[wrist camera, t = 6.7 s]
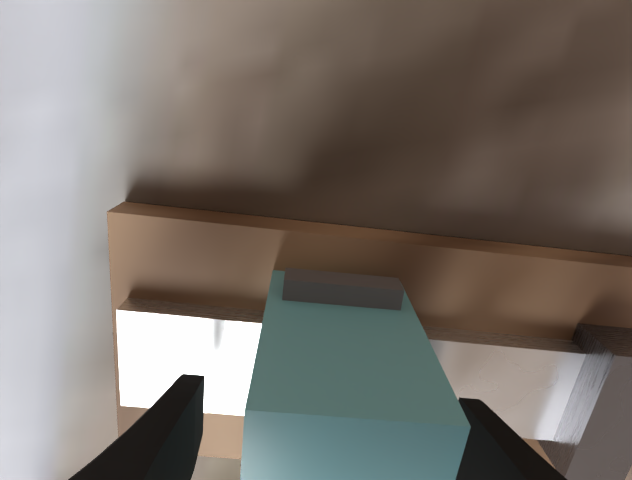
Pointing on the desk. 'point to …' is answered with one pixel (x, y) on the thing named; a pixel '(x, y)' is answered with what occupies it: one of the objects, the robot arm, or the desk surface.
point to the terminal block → (347, 386)
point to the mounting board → (355, 258)
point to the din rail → (454, 356)
